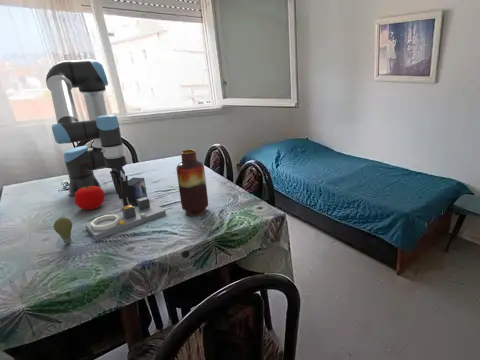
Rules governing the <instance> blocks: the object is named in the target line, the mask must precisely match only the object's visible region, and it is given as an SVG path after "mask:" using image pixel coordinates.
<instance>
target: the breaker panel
mask: <svg viewBox="0 0 480 360" xmlns="http://www.w3.org/2000/svg"><path fill="white" fill-rule="evenodd" d="M149 203H150V207H148V208H145V209H142V210H141V209H140V208H138V206H134V208H135V213H136V216H134V217H131V218H128V219H126V218H124V216H123V212H122V211H120V212H118V213H113V214H105V215H102V216H101V215H100V216H98V217H95V219H93V220H92V221H90V222H86V223H85V224H84V225H85V228H86V230H87V231H88V233H90V235H91V236H92V237H93V238H94V240H95V241H99V240H101V239H103V238H106V237H109V236H111V235H114V234H117V233H119V232H122V231H125V230H128V229H130V228H133V227H136V226H138V225H141V224H143V223H147V222H149V221H152V220H154V219H157V218H160V217H162V216H165V215H167V212H166V209H165V208H163V207H161V206H159V205H158V204H156V203H155V202H153V201H149Z"/></svg>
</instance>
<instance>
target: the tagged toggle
mask: <svg viewBox="0 0 480 360" xmlns="http://www.w3.org/2000/svg"><path fill="white" fill-rule="evenodd" d="M121 212H123V216H124V218H126V219H128V218H131V217H134V216H136V213H135V206H132V205H128V206H125V207H123V208H121Z"/></svg>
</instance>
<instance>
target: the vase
mask: <svg viewBox="0 0 480 360" xmlns="http://www.w3.org/2000/svg"><path fill="white" fill-rule="evenodd" d="M180 158H181V162H179V163H177V166H176V168H175V169H176V176H177V183H178V191H179V197H180V203H181V208H182V210H183V211H184V214H185V215H186V216H187V217H199V216H203V215H204V214H205V213H207V207H208V206H209V200H208V199H209V197H208V189H207V179H206V172H205V171H206V170H205V165H204V163H203V162H202V161H201V160H199V159H198V157H197V152H196V150H195V149H185V150H182V151H181V152H180Z"/></svg>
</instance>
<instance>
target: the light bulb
mask: <svg viewBox="0 0 480 360" xmlns="http://www.w3.org/2000/svg"><path fill="white" fill-rule="evenodd" d="M53 229H54V231H55V232H56V234H58V235H59V236H60V237H61V239H62V240H63V241H62V242H63V243H64V244H66V245H69V244H71V242H72V237H71V235H72V229H73V223H72V220H71V219H69V218H68V217H60V218H59V217H58V219H57V220H55V221H54V223H53Z"/></svg>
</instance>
